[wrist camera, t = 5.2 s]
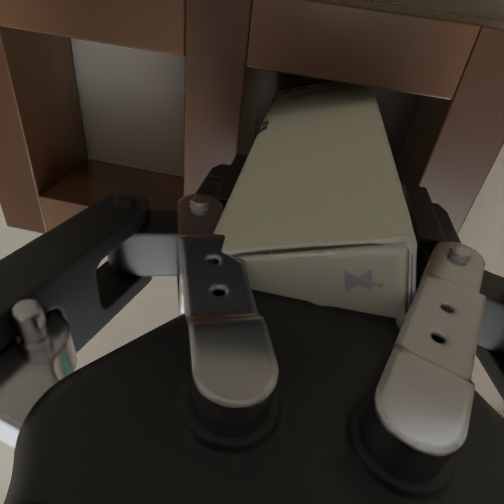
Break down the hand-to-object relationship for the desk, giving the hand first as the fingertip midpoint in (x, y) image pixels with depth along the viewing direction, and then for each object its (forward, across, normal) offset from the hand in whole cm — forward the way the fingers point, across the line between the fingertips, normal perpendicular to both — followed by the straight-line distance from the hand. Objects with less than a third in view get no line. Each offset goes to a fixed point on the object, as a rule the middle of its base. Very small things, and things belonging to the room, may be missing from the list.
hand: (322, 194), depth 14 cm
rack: (+6, +5, 0) cm, 7 cm away
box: (+6, 0, 0) cm, 6 cm away
